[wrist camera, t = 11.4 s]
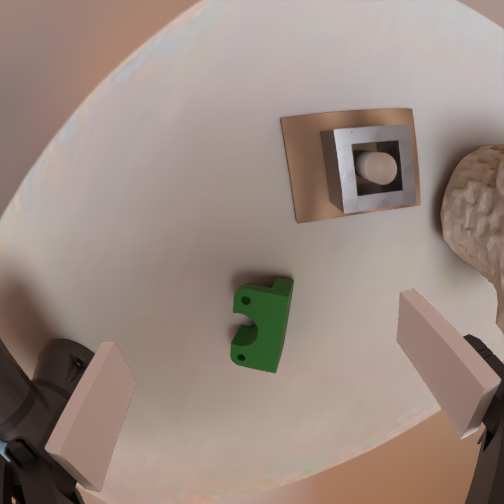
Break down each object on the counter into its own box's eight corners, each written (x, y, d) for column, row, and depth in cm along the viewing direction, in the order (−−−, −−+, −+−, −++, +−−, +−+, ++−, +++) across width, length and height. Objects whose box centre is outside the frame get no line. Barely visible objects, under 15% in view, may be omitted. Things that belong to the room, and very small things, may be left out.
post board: (296, 221, 36) (307, 243, 28) (280, 118, 32) (288, 112, 24) (416, 203, 35) (450, 219, 27) (408, 109, 31) (443, 105, 23)
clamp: (252, 272, 43) (237, 271, 34) (295, 279, 42) (291, 280, 33) (238, 354, 42) (220, 373, 34) (279, 363, 41) (271, 384, 32)
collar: (329, 201, 34) (344, 213, 28) (319, 131, 31) (333, 129, 26) (392, 192, 34) (416, 203, 28) (385, 125, 31) (409, 124, 25)
